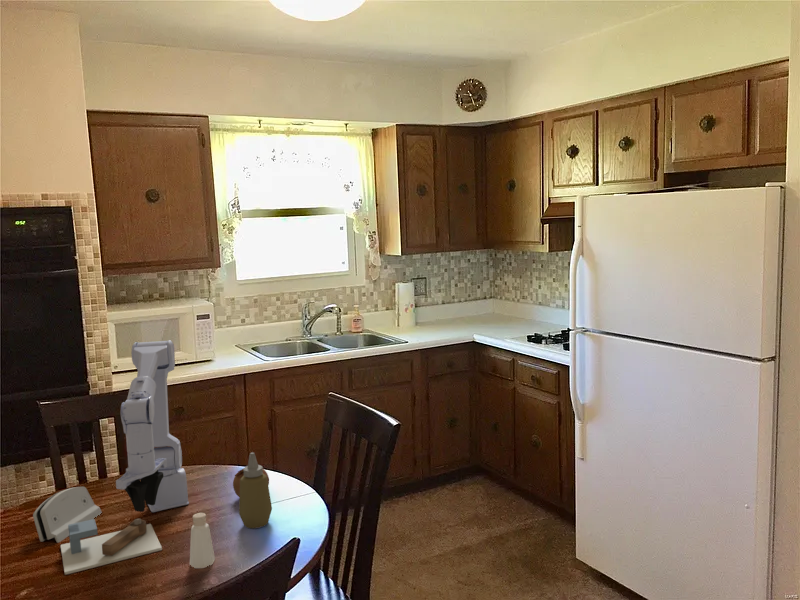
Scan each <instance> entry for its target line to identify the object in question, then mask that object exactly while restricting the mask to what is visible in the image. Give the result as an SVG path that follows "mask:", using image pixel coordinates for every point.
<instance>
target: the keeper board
mask: <svg viewBox="0 0 800 600" xmlns="http://www.w3.org/2000/svg"><path fill="white" fill-rule="evenodd" d="M95 519H96V518H95ZM95 519H92V520H87V521H83V522H79V523H74V524H70V525H68V529H69V536H68V537H69V542H66V543H62V544H60V552H61V556H62V565H63V571H64V575H65V576H66V575H71V574H75V573H78V572H81V571H85V570H88V569H93V568H97V567H101V566H105V565H108V564H112V563H117V562H120V561H124V560H128V559H132V558H136V557H139V556H143V555H148V554H152V553H156V552H160V551H162V550H163V548H162V547H163V546H162V544H161V543H160V541H159V539H158V536H157V534H156V532H155V530H154V527H153V525H152V524H151V523H146V527H147V531H146V533H145V534H143V535H140V536H138V537H137V538H135V539H134V540H133V541H131V542H130V543H129V544H127V545H126V546H124V547H123V548H122V549H120V550H119V551H118V552H116V553H115V554H113V555H112V556H111V555H103V553H102V544H103V543H105V542H106V541H107V540H109V539H110V538H112V537H113V536H115V535H116V534H118V533H119V532H121V531H122V530H123V529H122V530H121V529H120V530H118V531H113V532H108V533H104V534H101V535H99V534H98V527H97V524H96V520H95Z"/></svg>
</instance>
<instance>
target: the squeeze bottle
mask: <svg viewBox="0 0 800 600" xmlns="http://www.w3.org/2000/svg"><path fill="white" fill-rule="evenodd" d="M257 460H258V459H257V457H256V454H255V452H250V453H249V456H248V462H247V465H246V466H245V467H243V468H244V469H243V468H242V469H243V471H244V476H243V477H242V478H241V479H240V496H239V497H238V499H239V500H238V514H239V517H240V519H241V521H242V524H243V525H244V527H245V528H248V529H260V528H263V527H265V526H266V525H268V523H269V521H270V517H271V515H272V514H271V513H272V509H273V507H272V501H271V494H270V487H269V485H268V481H267V476H266V475H265V474H263V469H264V468H263V466H262V465H260V464H258V461H257Z"/></svg>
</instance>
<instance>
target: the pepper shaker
mask: <svg viewBox="0 0 800 600" xmlns="http://www.w3.org/2000/svg"><path fill="white" fill-rule="evenodd" d="M212 540H213V539H212V536H211V529H210V525H209V523H207V515H206V513H205V512H198V513H194V514H193V515H192V526H191V529H190V544H189V545H190V547H189V566H190V565H191V566H190V567H192V568H193V567H194V568H193V569H204V568H207V566H208V567H210V566H212V565H213V564H214V562H215V560H216V556H215V551H214V546H213V541H212ZM209 565H210V566H209Z"/></svg>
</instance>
